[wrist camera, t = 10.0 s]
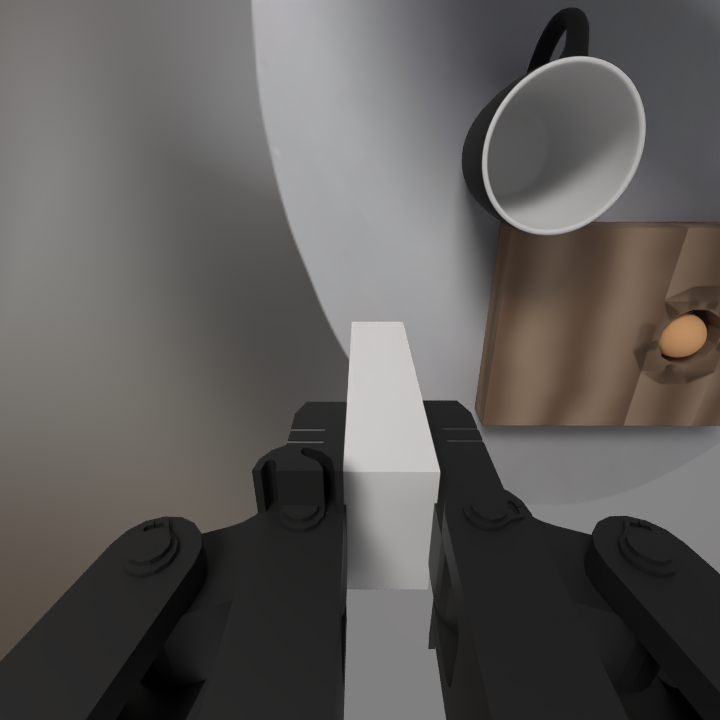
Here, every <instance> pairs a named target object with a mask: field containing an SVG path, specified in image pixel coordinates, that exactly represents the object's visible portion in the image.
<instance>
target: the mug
mask: <svg viewBox="0 0 720 720" xmlns="http://www.w3.org/2000/svg"><path fill="white" fill-rule="evenodd" d="M565 30H566V31H567V32H566V43H565V47H564V50H563V52H562V54H561V56H560V57H559V59H558V60H554V61H551V62H549V60H550V58H551V55H552V53H553V51H554V49H555V47H556V45H557V43H558V41H559V39H560V37H561V36H562V34H563V33H564V31H565ZM588 44H589V23H588V19H587V17H586V15H585V13H584V12H583V11H581V10H580V9H577V8H566V9H563V10H561V11H559V12H558V13H557V14H555V15H554V16H553V17H552V19H551V20H550V21H549V23H548V24H547V26H546V27H545V29H544V31H543V33H542V35H541V37H540V39H539V41H538V43H537V46H536V48H535V51H534V53H533V56H532V59H531V61H530V64H529V67H528V70H527V73H526V74H525V75H523V76H522V77H520V78H519V79H517V80H516V81H514V82H513V83H511V84H510V85H509V86H508V87H506V88H505V89H504V90H502V91H501V92H500V93H499V94H498V95H497V96H496V97H495V98H493V99H492V100H491V101H490V102H489V103H488V104H487V106H486V107H485V108H484V109H483V110H482V111H481V113H480V114H479V115H478V117H477V118H476V119H475V121H474V123H473V124H472V126H471V128H470V130H469V132H468V134H467V137H466V140H465V143H464V147H463V153H462V169H463V174H464V178H465V181H466V184H467V186H468V188H469V190H470V192H471V193H472V195H473V196H474V197H475V199H476V200H477V201H478V202H479V203H480V205H481V206H482V207H483V208H485V209H486V210H487V211H488V212H489V213H490V214H492V215H493V216H494V217H496V218H497V219H499V220H500V221H502V222H503V223H505V224H507V225H509V226H511V227H512V228H515V229H517V230H520V231H522V232H526V233H529V234H534V235H558V234H564V233H568V232H571V231H574V230H577V229H579V228H581V227H584V226H585V225H587V224H589V223H591V222H592V221H594V220H595V219H597V218H598V217H600V216H601V215H602V214H604V213H605V212H606V211H607V210H608V209H609V208H610V207H611V206H612V205H613V204H614V203H615V202H616V201H617V200H618V199H619V198H620V196H621V195H622V194H623V192H624V191H625V190H626V188H627V187H628V185H629V183H630V182H631V180H632V178H633V176H634V174H635V172H636V170H637V167H638V165H639V162H640V159H641V156H642V153H643V148H644V143H645V135H646V120H645V112H644V107H643V104H642V100H641V98H640V95H639V93H638V91H637V89H636V87H635V85H634V84H633V83H632V81H631V80H630V79H629V77H628V76H627V75H626V74H625V73H624V72H623V71H621V70H620V69H619V68H618V67H616V66H615V65H613V64H611V63H609V62H607V61H605V60H602V59H598V58H594V57H588Z"/></svg>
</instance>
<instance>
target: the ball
mask: <svg viewBox="0 0 720 720" xmlns="http://www.w3.org/2000/svg"><path fill="white" fill-rule="evenodd" d="M706 338H707V329H706V326H705V324H704V323H703V321H702V320H701V319H700V318H699V317H697V316H695V315H693V314H691V313H688V312H686V313H684V314H682V315H680V316H678V317H676V318H675V319H674V320H673V321H672V322H671V323H670V324H669V325H668V326H667V327H666V328H665V329H664V330H663V333H662V335H661V338H660V341H659V344H658V346H659V349H660V352H661V354H664V355H666V356H670V357H685V356H688V355H691V354H693V353H695V352H696V351H698V350H699V349H700V348H701V347H702V346H703V344H704V343H705V341H706Z"/></svg>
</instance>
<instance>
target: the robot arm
mask: <svg viewBox="0 0 720 720" xmlns="http://www.w3.org/2000/svg"><path fill="white" fill-rule="evenodd" d="M252 473H253V481H254V487H255V495H256V502H257V508H258V513H257V514H256V515H255V516H253V517H251V518H249V519H248V520H246V521H244V522H242V523H239V524H236V525H233V526H230V527H227V528H223V529H219V530H215V531H211V532H207V533H203V534H201V532H200V531H199V529H198V528H197V526H196V525H195V523H193V522H191V521H189V520H187V519H184V518H182V517H161V518H157V519H153V520H149V521H145V522H143V523H141V524H139V525H137V526H135V527H133V528H131V529H129V530H128V531H126V532H125V533H124V534H123V535H121V536H120V537H119V538H118V539H117V540H115V541H114V542H113V543H112V544H111V545H110V546H109V547H108V548H107V549H106V550H105V551H104V552H103V553H102V554H101V555H100V557H99V558H98V559H97V560H96V561H95V562H94V563H93V564H92V565H91V566H90V567H89V568H88V569H87V570H86V571H85V572H84V573H83V575H82V576H81V577H80V578H79V579H78V580H77V581H76V582H75V583H74V584H73V585H72V586H71V587H70V588H69V589H68V590H67V591H66V592H65V594H64V595H63V596H62V597H61V598H60V599H59V600H58V601H57V602H56V603H55V604H54V605H53V606H52V607H51V609H50V610H49V611H48V612H47V613H46V614H45V615H44V616H43V617H42V618H41V619H40V620H39V621H38V622H37V623H36V624H35V625H34V626H33V628H32V629H31V630H30V631H29V632H28V633H27V634H26V635H25V636H24V637H23V638H22V639H21V640H20V642H18V643H17V645H15V647H14V648H13V649H12V650H11V651H10V652H9V653H8V654H7V655H6V656H5V657H4V658H3V659H2V660H1V661H0V720H344V691H345V690H344V689H345V658H346V657H345V656H346V624H347V623H346V622H347V616H346V593H347V589H417V590H418V589H419V590H421V589H424V590H427V589H428V583H429V574H430V579H431V585H432V591H433V597H434V599H433V607H432V616H431V625H430V633H429V649H435V647H436V653H437V660H438V667H439V674H440V681H441V687H442V694H443V701H444V708H445V714H446V720H720V574H719V573H718V572H717V571H716V570H715V569H714V568H712V567H711V566H710V565H709V564H708V563H707V562H706V561H705V560H703V559H702V558H701V557H700V556H699V555H698V554H697V553H695V552H694V551H693V550H692V549H691V548H690V547H689V546H688V545H686V544H685V543H684V542H682V541H681V540H679V539H678V538H677V537H675V536H674V535H672V534H671V533H670V532H669V531H667V530H665V529H663V528H661V527H659V526H657V525H654V524H652V523H650V522H648V521H645V520H641V519H637V518H633V517H628V516H610V517H608V518H605V519H603V520H601V521H599V522H598V523H597V524H596V526H595V528H594V530H593V532H592V535H590V534H586V533H582V532H578V531H574V530H570V529H566V528H562V527H558V526H554V525H551V524H548V523H545V522H542V521H540V520H538V519H536V518H534V517H533V516H532V514H531V512H530V511H529V510H528V508H527V507H526V506H525V504H524V503H523V502H522V501H521V500H520V499H519V498H517V497H516V496H515V495H513V494H512V493H510V492H509V491H507V490H504V488H503V486H502V484H501V481H500V479H499V477H498V474H497V472H496V470H495V467H494V465H493V463H492V460H491V458H490V456H489V453H488V451H487V449H486V446H485V444H484V442H482V437H481V435H480V432H479V430H477V426H476V423H475V421H474V419H473V416H472V414H471V412H470V411H468V410H467V409H466V408H465V407H464V406H463V405H461V404H460V403H459V402H458V401H422V397H421V393H420V389H419V385H418V381H417V377H416V373H415V369H414V365H413V361H412V357H411V353H410V349H409V345H408V341H407V337H406V333H405V329H404V325H403V322H352V331H351V348H350V364H349V382H348V397H347V402H306V403H305V404H304V405H303V406H302V407H301V408H300V409H299V410H298V411H297V413H295V416H294V420H293V424H292V428H291V431H290V435H289V439H288V443H287V445H285V446H282V447H279V448H277V449H274V450H271V451H270V452H269V453H268V454H266V455H265V456H263V457H262V458H260V459H259V461H258V462H257V464H256V465H255V467H254V468H253V470H252Z"/></svg>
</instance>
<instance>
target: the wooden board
mask: <svg viewBox="0 0 720 720" xmlns="http://www.w3.org/2000/svg"><path fill="white" fill-rule="evenodd" d="M691 310H695V312H696V316H697V317H699V318H700V319H701V320H702V321H703V323H704V324H705V326H706V329H707V338H706V341H705V343H704V344H703V346H702V347H701V348H700V349H699V350H698V351H696V352H695V353H693V354H691V355H688V356H685V357H670V356H666V355H664V354H661V352H660V349H659V346H658V344H659V341H660V338H661V335H662V333H663V330H664V329H665V328H666V327H667V326H668V325H669V324H670V323H671V322H672V321H673V320H674V319H675V318H676V317H678V316H680V315H682V314H684V313H686V312H689V311H691ZM475 410H476V412H477V414H478V417H479V419H480V421H481V423H482V425H526V426H720V222H591V223H589V224H587V225H585V226H584V227H581V228H579V229H577V230H574V231H571V232H568V233H564V234H558V235H534V234H529V233H526V232H522V231H520V230H517V229H515V228H512V227H511V226H509V225H507V224H505V223H503V222H501V225H500V232H499V239H498V247H497V254H496V261H495V268H494V275H493V282H492V289H491V296H490V303H489V311H488V318H487V325H486V332H485V339H484V346H483V353H482V360H481V367H480V375H479V382H478V389H477V396H476V403H475Z"/></svg>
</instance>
